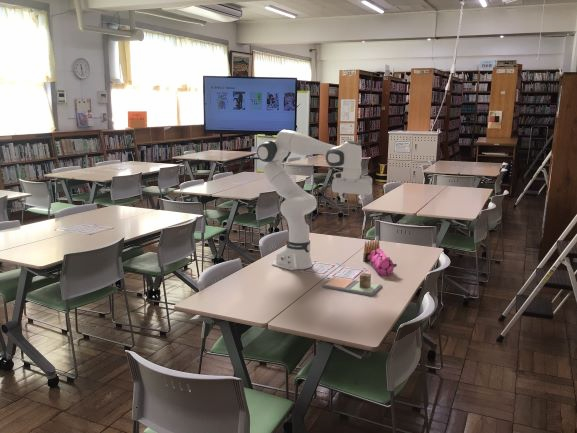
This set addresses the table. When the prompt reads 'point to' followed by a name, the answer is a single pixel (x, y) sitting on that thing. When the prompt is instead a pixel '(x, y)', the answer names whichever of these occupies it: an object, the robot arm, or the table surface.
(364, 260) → the ammunition clip
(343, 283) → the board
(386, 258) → the pencil case
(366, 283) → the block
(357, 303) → the table surface
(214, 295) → the table surface
